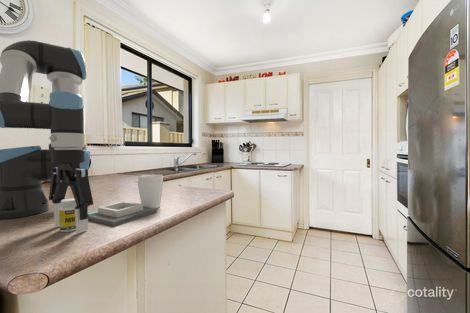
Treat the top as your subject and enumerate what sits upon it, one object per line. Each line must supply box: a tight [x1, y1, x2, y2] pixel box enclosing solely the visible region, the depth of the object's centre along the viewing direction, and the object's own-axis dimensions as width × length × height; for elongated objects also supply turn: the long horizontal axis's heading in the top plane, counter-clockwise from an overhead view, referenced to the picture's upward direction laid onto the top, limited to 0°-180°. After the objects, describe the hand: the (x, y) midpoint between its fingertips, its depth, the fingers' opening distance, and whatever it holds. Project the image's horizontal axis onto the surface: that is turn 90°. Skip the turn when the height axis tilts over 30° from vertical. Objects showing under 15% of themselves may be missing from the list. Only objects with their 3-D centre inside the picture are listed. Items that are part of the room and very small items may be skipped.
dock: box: [88, 200, 158, 227], centre depth 77 cm, size 16×16×3 cm
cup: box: [137, 174, 164, 209], centre depth 87 cm, size 9×9×12 cm
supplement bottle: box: [59, 197, 77, 233], centre depth 63 cm, size 5×5×8 cm
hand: (70, 227), depth 64 cm, fingers open, 10 cm apart
